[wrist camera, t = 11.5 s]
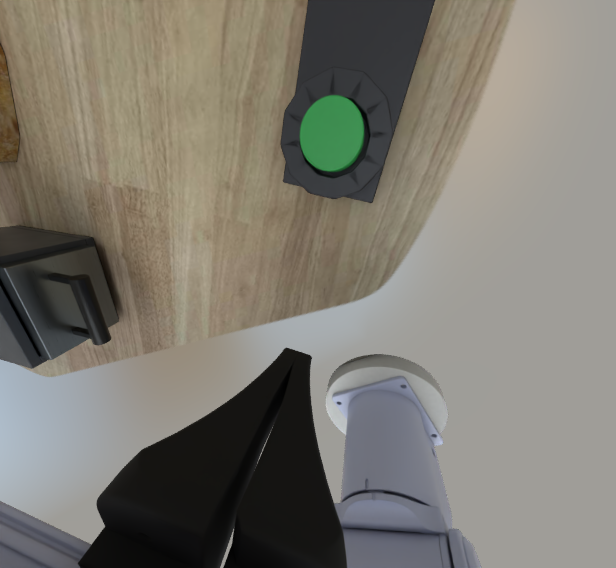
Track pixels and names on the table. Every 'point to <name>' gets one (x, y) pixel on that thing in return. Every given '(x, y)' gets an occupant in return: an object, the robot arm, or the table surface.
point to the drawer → (60, 299)
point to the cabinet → (3, 320)
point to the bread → (7, 117)
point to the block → (354, 84)
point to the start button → (332, 133)
